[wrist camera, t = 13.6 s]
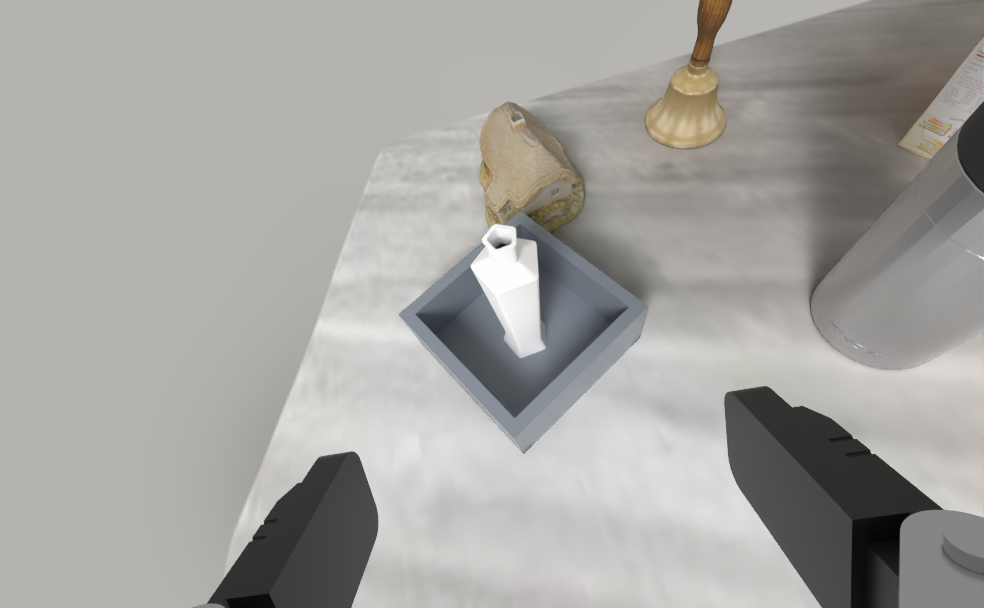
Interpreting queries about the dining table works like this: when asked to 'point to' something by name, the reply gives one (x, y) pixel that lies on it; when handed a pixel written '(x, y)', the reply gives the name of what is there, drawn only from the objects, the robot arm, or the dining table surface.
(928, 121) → the coffeecake box
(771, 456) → the robot arm
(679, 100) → the hand bell
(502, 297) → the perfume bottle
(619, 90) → the dining table surface
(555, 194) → the ceramic model
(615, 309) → the tote
